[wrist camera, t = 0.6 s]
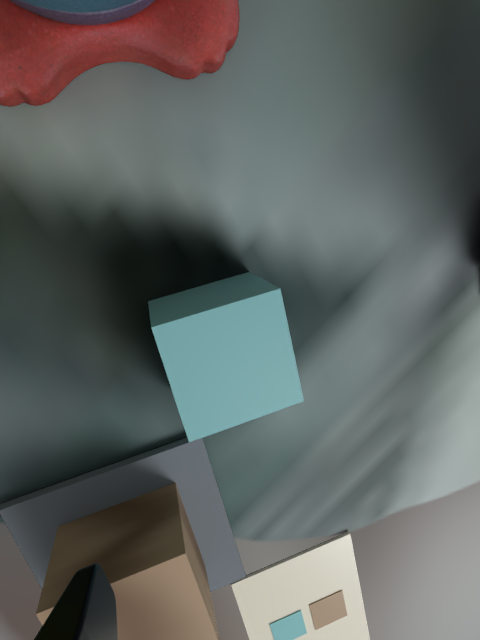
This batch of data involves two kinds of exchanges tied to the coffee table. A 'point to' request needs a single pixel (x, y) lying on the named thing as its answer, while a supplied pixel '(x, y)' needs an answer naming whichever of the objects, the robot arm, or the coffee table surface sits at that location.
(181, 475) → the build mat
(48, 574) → the walnut brick
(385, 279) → the coffee table surface
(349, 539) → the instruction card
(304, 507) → the coffee table surface
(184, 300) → the teal brick
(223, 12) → the stacking bear
